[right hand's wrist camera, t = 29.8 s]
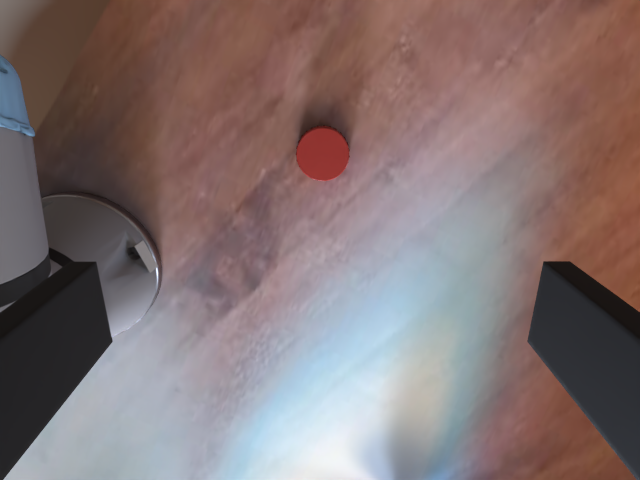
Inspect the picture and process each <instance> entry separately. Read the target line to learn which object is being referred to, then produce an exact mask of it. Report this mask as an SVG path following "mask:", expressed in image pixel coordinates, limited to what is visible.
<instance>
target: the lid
mask: <svg viewBox="0 0 640 480" xmlns="http://www.w3.org/2000/svg"><path fill="white" fill-rule="evenodd" d="M298 143H299V144H298V146H297V148H296V149H297V152H296V155H297V161H298V164H299V167H300V168H301V170H302V171H303V172H304V173H305V174H306V175H307V176H308V177H310V178H312V179H314V180H319V181H327V180H331V179H334V178H336V177H337V176H339V175H340V174H341V173H342V172H343V171H344V169H345V168H346V166H347V163H348V160H349V157H350V156H349V151H350V150H349V148H348V143H346V140H345V137H343V136H342V134H341V132H340V133H339V132H338V131H337V130H336V129H333V128H331V126H329V127H327V126H325V125H323V126H319V127H318V126H317V127H315V128H311V129H310V130H309V131H306V133H305V134H304V135H302V137H301V140H299V142H298Z"/></svg>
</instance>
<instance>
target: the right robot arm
mask: <svg viewBox="0 0 640 480" xmlns="http://www.w3.org/2000/svg"><path fill="white" fill-rule="evenodd" d="M32 136H35V131H34V129H33V128H32V127H31V126H30V123H29V119H28V115H27V110H26V106H25V101H24V97H23V92H22V87H21V82H20V79H19V76H18V74H17V72H16V70H15V69H14V67H13V66H12V65H11V64H10V63H9V62H8V61H7V60H6V59H5V58H4V57H3V56H1V55H0V480H3V479H4V478H5V477H6V475H7V474H8V473H9V472H10V470H11V469H12V468H13V467H14V465H15V464H16V463H17V461H18V460H19V459H20V458H21V456H22V455H23V454H24V453H25V451H26V450H27V449H28V448H29V446H30V445H31V444H32V443H33V441H34V440H35V439H36V437H37V436H38V435H39V434H40V432H41V431H42V430H43V429H44V427H45V426H46V425H47V424H48V422H49V421H50V420H51V419H52V417H53V416H54V415H55V413H56V412H57V411H58V410H59V408H60V407H61V406H62V405H63V403H64V402H65V401H66V400H67V398H68V397H69V396H70V395H71V393H72V392H73V391H74V390H75V388H76V387H77V386H78V384H79V383H80V382H81V381H82V379H83V378H84V377H85V376H86V374H87V373H88V372H89V371H90V369H91V368H92V367H93V366H94V364H95V363H96V362H97V360H98V359H99V358H100V357H101V355H102V354H103V353H104V352H105V350H106V349H107V348H108V347H109V345H110V344H111V343H112V342H113V341H112V337H113V336H115V335H117V334H120V333H122V332H124V331H125V330H127V329H129V328H130V327H132V326H133V325H134V324H135V323H136V322H138V321H139V320H140V319H141V318H142V317H143V316H144V315H145V314H146V312H147V311H148V310H149V308H150V307H151V306H152V304H153V303H154V301H155V299H156V298H157V295H158V293H159V290H160V286H161V281H162V267H161V261H160V257H159V253H158V251H157V248H156V246H155V244H154V242H153V240H152V238H151V236H150V235H149V233H148V232H147V231H146V229H145V228H144V227H143V226H142V224H141V223H140V222H139V221H138V220H137V219H136V218H135V217H134V216H132V215H131V214H130V213H129V212H128V211H126V210H125V209H123V208H122V207H120V206H118V205H117V204H115V203H113V202H111V201H109V200H107V199H104V198H101V197H99V196H95V195H92V194H87V193H80V192H63V193H56V194H52V195H49V196H46V197H43V198H41V196H40V190H39V182H38V175H37V168H36V160H35V153H34V145H33V138H32ZM527 342H528V343H529V344H530V345H531V347H532V348H533V349H534V350H535V352H536V353H537V354H538V355H539V357H540V358H541V359H542V360H543V362H544V363H545V364H546V366H547V367H548V368H549V369H550V371H551V372H552V373H553V374H554V376H555V377H556V378H557V379H558V381H559V382H560V383H561V384H562V386H563V387H564V388H565V390H566V391H567V392H568V393H569V395H570V396H571V397H572V398H573V400H574V401H575V402H576V403H577V405H578V406H579V407H580V408H581V410H582V411H583V412H584V413H585V415H586V416H587V417H588V419H589V420H590V421H591V422H592V424H593V425H594V426H595V427H596V429H597V430H598V431H599V432H600V434H601V435H602V436H603V437H604V439H605V440H606V441H607V443H608V444H609V445H610V446H611V448H612V449H613V450H614V451H615V453H616V454H617V455H618V456H619V458H620V459H621V460H622V461H623V463H624V464H625V465H626V467H627V468H628V469H629V470H630V472H631V473H632V474H633V475H634V477H635V478H636V479H637V480H640V312H638V311H637V310H636V309H634V308H633V307H632V306H630V305H629V304H627V303H626V302H625V301H623V300H622V299H621V298H619V297H618V296H616V295H615V294H614V293H612V292H611V291H610V290H608V289H607V288H605V287H604V286H603V285H601V284H600V283H599V282H597V281H596V280H594V279H593V278H592V277H590V276H589V275H588V274H586V273H585V272H583V271H582V270H581V269H579V268H578V267H577V266H575V265H574V264H572V263H571V262H543V267H542V272H541V277H540V282H539V287H538V292H537V297H536V302H535V307H534V312H533V317H532V322H531V327H530V332H529V336H528V341H527Z"/></svg>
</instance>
